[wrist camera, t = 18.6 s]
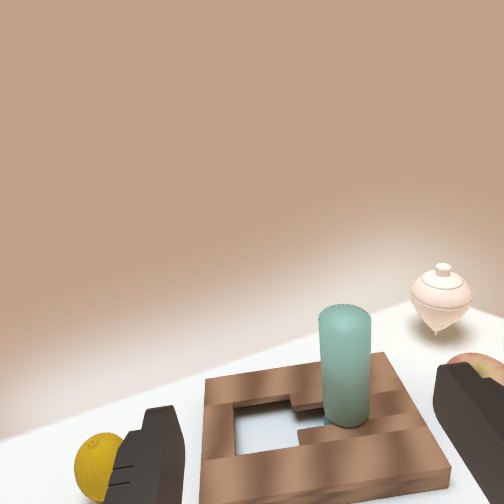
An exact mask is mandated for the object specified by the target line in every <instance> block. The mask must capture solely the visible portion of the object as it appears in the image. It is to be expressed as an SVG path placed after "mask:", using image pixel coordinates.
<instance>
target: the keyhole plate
mask: <svg viewBox="0 0 504 504" xmlns="http://www.w3.org/2000/svg"><path fill="white" fill-rule="evenodd" d="M289 399H290V402H291V407H292V411H293V412H297V411H303V410H310V409H316V408H323V390H322V373H321V361H320V362H313V363H307V364H300V365H294V366H287V367H281V368H274V369H268V370H261V371H255V372H248V373H242V374H235V375H229V376H222V377H216V378H209V379H205V396H204V415H203V434H202V454H201V473H200V492H199V504H349V503H355V502H361V501H368V500H374V499H380V498H387V497H393V496H399V495H406V494H412V493H418V492H425V491H431V490H437V489H444V488H448V485H449V479H450V473H451V468H452V467H451V465H450V464H449V462H448V460H447V459H446V457H445V455H444V453H443V452H442V450H441V448H440V447H439V445H438V443H437V442H436V440H435V438H434V436H433V435H432V433H431V431H430V430H429V428H428V426H427V425H426V423H425V421H424V419H423V418H422V416H421V414H420V413H419V411H418V409H417V408H416V406H415V404H414V402H413V401H412V399H411V397H410V396H409V394H408V392H407V391H406V389H405V387H404V385H403V384H402V382H401V380H400V379H399V377H398V375H397V374H396V372H395V370H394V368H393V367H392V365H391V363H390V362H389V360H388V358H387V357H386V355H385V353H384V352H379V353H372V354H370V401H369V415H368V418H367V419H366V421H365V422H364V423H362V424H360V425H358V426H355V427H343V426H339V425H337V424H332V425H326V426H319V427H313V428H307V429H300V430H297V434H298V440H299V444H300V446H296V447H290V448H283V449H277V450H270V451H264V452H258V453H251V454H245V455H238V456H235V430H234V408H237V407H244V406H250V405H257V404H263V403H270V402H276V401H283V400H289Z"/></svg>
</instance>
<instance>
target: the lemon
mask: <svg viewBox="0 0 504 504" xmlns="http://www.w3.org/2000/svg"><path fill="white" fill-rule="evenodd" d="M122 442H123V439H121V438H120V437H119V436H117V435H116V434H112V433H100V434H97V435H94V436H92V437H91V438H89V439H88V440H87V441H86V442H85V443H84V444H83V445H82V446H81V448H80V449H79V451H78V453H77V455H76V458H75V464H74V473H75V478H76V482H77V485H78V487H79V488H80V490H81V491H82V493H83V494H84V495H85V496H87V497H88V498H90V499H91V500H94V501H99V502H103V501H104V498H105V494H106V491H107V489H108V483H109V480H110V476H111V473H112V472H113V469H112V468H113V465H114V461H115V457H116V453H117V450H118V448H119V446H120V445H121V443H122Z"/></svg>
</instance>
